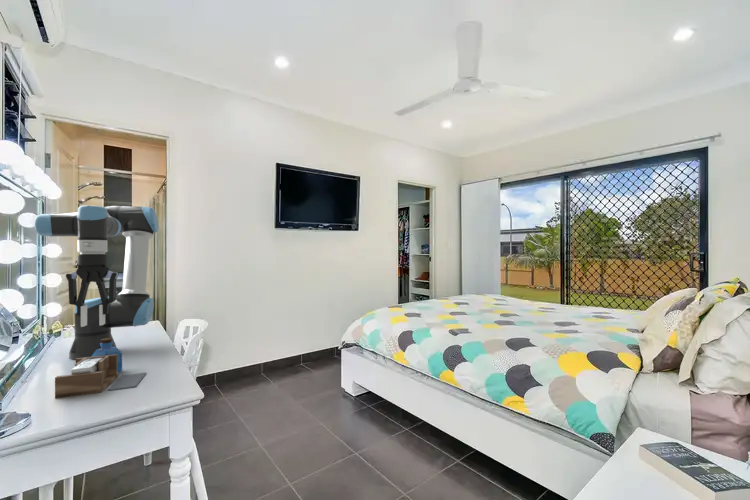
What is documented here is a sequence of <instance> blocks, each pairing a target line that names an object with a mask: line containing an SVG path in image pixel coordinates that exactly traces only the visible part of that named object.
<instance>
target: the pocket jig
mask: <svg viewBox="0 0 750 500" xmlns="http://www.w3.org/2000/svg"><path fill="white" fill-rule="evenodd" d="M95 358H103V359H102V360H100V361H99V372H90V373H81V374H72V373H71V374H65V375H57V376H56V377H54V399H60V398H61V399H62V398H67V397H76V396H77V397H78V396H85V395H92V394H100V393H103V392H104V391H105V390H106V389H107V387H109V386H110V385H111V384H112V382H113V381H115V380H116V379H117V378H118V375H119V374H118V373H119V372H118V354H115V355H105V356H95V357H84V358H77V359H75V364H74V367H76V366H77V365H78V364H80V363H81V362H83V361H84V360H86V359H95Z"/></svg>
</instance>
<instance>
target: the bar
mask: <svg viewBox="0 0 750 500" xmlns="http://www.w3.org/2000/svg"><path fill="white" fill-rule="evenodd" d="M102 359H103V358H95V359H86V360H84V361H83V362H81V363H80V364H78V365H77V366H76V367H75V366H74V367H73V368H71V375H72V374H81V373H90V372H99V361H100V360H102Z"/></svg>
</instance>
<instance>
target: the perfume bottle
mask: <svg viewBox="0 0 750 500" xmlns="http://www.w3.org/2000/svg"><path fill="white" fill-rule="evenodd" d="M111 340H112V338H104V339H101V343H100V346H101V349H97V350H96V351H95V352H94V353H93V355H92V356H91V357H95V356H105V355H115V354H118V373H119V372H122V371H123V353H122V351H120V349H119V348H118V347H117V346H116V347H112V344H113V342H112V341H111Z"/></svg>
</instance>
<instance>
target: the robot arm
mask: <svg viewBox="0 0 750 500" xmlns="http://www.w3.org/2000/svg"><path fill="white" fill-rule="evenodd" d="M34 229H35V231H36V233H37V234H38V235H39V236H41V237H51V238H52V237H77V253H80V254H77V268H76V270H75V271H74V272H71V273H66V274H65V278H66V280H67V282H68V284H67V285H68V303H69V305H72V306H74V313H73V315H74V340H73V342H72V344H71V347H70V349H69V353H68V358H69V360H76V359H77V358H84V357H91V356H92V355H93V353H94V352H95V351H96V350H97V349H101V346H100V343H101V339H104V338H112V340H111V341H112V342H113V344H112V347H117V345H116V342H115V340H114V337H113V335H112V329H113V328H127V327H128V328H129V327H134V328H135V327H139V326H145V325H147V324H148V323H150V321H151V318H152V317H153V312H154V309H155V307H154V305H155V303H154V299H153V298H152V297H151V295H150V293H149V292H147V278H148V263H149V261H148V260H149V249H150V240H151V239H152V238H154V233H155V234H156V233H158V232H159V229H160V227H159V220H158V214H157V213H156V210H155V209H154V208H153V207H149V206H126V205H125V206H124V205H122V206H121V205H111V206H109V205H108V206H99V205H80V206H79V207H78V208H77V212H68V213H67V212H66V213H57V214H56V213H55V214H54V213H40V214H38V215H37V216H36V217H35V219H34ZM121 232H122V236H124V238H125V251H124V263H123V274H122V285H121V291H120V292H119V293H118V294H117V279H118V276H119V272H117V271H111V270H110V269H109V267H108V265H109V264H108V257H109V256H108V254H106V253H107V252H108V251H109V250H108V238H112V237H116V236H117V235H118V234H119V233H121ZM107 275H108V278H109V283H108V292H107V288H106V282H105V278H106V277H107ZM78 277H79V278H80V279H81V281H80V288H79V293H78V289H77V287H78V285H77V282H78V281H77V279H78ZM91 283H96V285H97V288H98V293H99V297H94V298H90V299H86V298H87V293H88V291H89V286H90V284H91Z"/></svg>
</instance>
